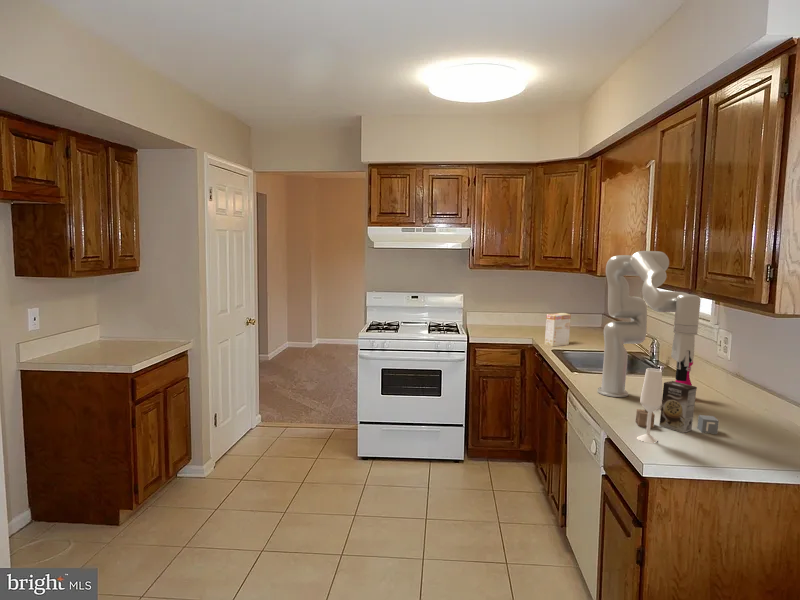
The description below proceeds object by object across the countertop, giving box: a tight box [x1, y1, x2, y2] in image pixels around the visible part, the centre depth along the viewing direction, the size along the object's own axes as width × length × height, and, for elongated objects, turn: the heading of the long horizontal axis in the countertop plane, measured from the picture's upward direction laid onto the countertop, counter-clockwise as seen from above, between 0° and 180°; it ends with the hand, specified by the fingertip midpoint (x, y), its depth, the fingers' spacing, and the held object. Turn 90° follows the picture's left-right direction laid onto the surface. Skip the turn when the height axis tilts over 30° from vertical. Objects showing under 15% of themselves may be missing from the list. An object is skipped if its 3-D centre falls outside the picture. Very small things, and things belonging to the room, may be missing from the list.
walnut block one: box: [635, 408, 655, 429], centre depth 202 cm, size 5×5×6 cm
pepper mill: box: [675, 361, 694, 386], centre depth 240 cm, size 7×7×20 cm
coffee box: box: [659, 380, 698, 434], centre depth 200 cm, size 9×6×16 cm
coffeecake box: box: [544, 312, 572, 347], centre depth 347 cm, size 15×7×20 cm, turn 123°
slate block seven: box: [696, 414, 720, 435], centre depth 198 cm, size 5×5×5 cm
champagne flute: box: [636, 367, 663, 444], centre depth 186 cm, size 7×7×24 cm
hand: (680, 380), depth 199 cm, fingers closed
